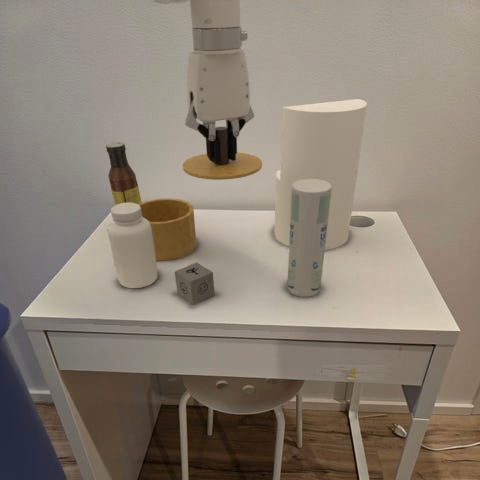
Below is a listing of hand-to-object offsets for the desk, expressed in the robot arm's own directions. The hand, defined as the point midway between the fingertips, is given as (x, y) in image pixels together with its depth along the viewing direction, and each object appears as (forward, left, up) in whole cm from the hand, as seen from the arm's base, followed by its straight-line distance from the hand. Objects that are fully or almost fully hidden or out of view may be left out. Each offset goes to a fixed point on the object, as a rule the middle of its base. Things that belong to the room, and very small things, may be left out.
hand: (222, 159), depth 80 cm
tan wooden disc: (0, 0, -1) cm, 1 cm away
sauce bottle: (-13, +26, -21) cm, 36 cm away
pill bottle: (-19, +2, -21) cm, 28 cm away
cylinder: (+23, +2, -21) cm, 32 cm away
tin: (-9, +13, -21) cm, 27 cm away
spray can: (+8, -17, -21) cm, 28 cm away
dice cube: (-11, -9, -21) cm, 25 cm away
